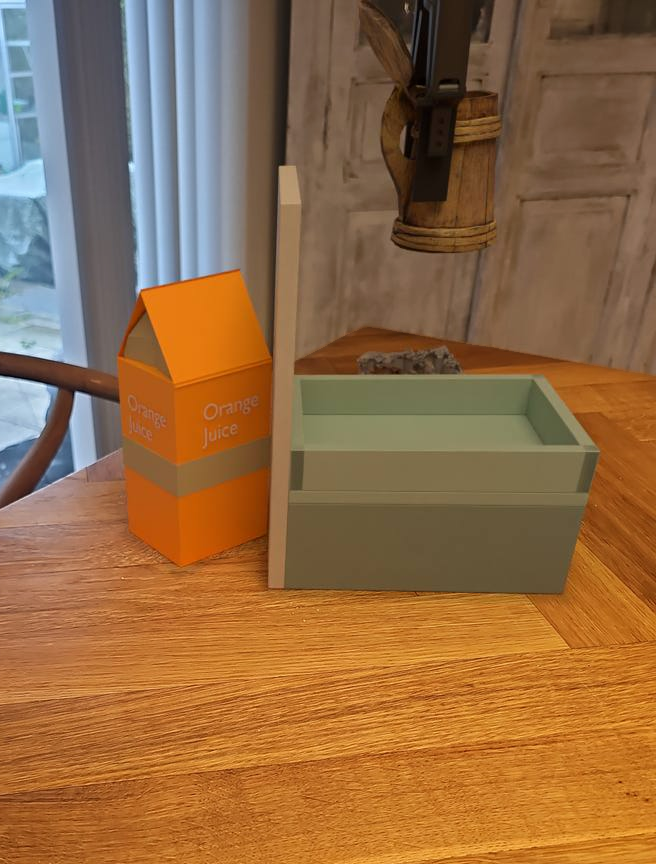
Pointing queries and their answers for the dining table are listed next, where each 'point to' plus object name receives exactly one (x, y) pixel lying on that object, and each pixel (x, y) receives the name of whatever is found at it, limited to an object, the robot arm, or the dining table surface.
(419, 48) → the robot arm
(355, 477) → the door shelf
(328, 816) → the dining table surface
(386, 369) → the grey rock
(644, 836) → the dining table surface
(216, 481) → the orange juice
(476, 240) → the wooden mug
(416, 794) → the dining table surface
